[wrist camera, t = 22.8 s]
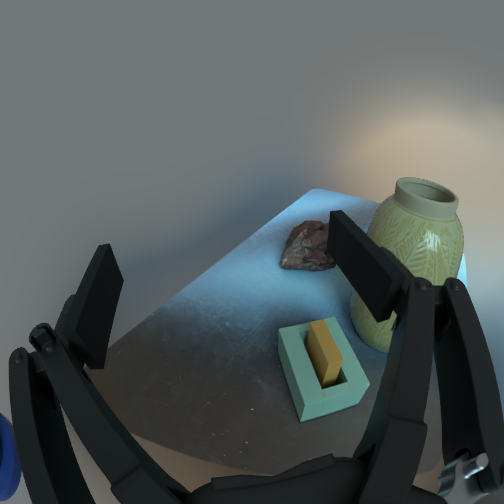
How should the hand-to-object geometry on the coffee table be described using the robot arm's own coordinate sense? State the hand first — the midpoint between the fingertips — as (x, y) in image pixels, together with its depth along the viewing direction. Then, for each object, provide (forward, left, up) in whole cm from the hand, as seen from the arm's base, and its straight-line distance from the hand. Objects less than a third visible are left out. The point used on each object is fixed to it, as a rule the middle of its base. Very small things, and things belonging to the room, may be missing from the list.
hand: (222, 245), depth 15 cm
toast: (+12, -1, -29) cm, 32 cm away
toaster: (+12, -1, -30) cm, 32 cm away
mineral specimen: (+34, +19, -30) cm, 49 cm away
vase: (+30, -4, -30) cm, 43 cm away
